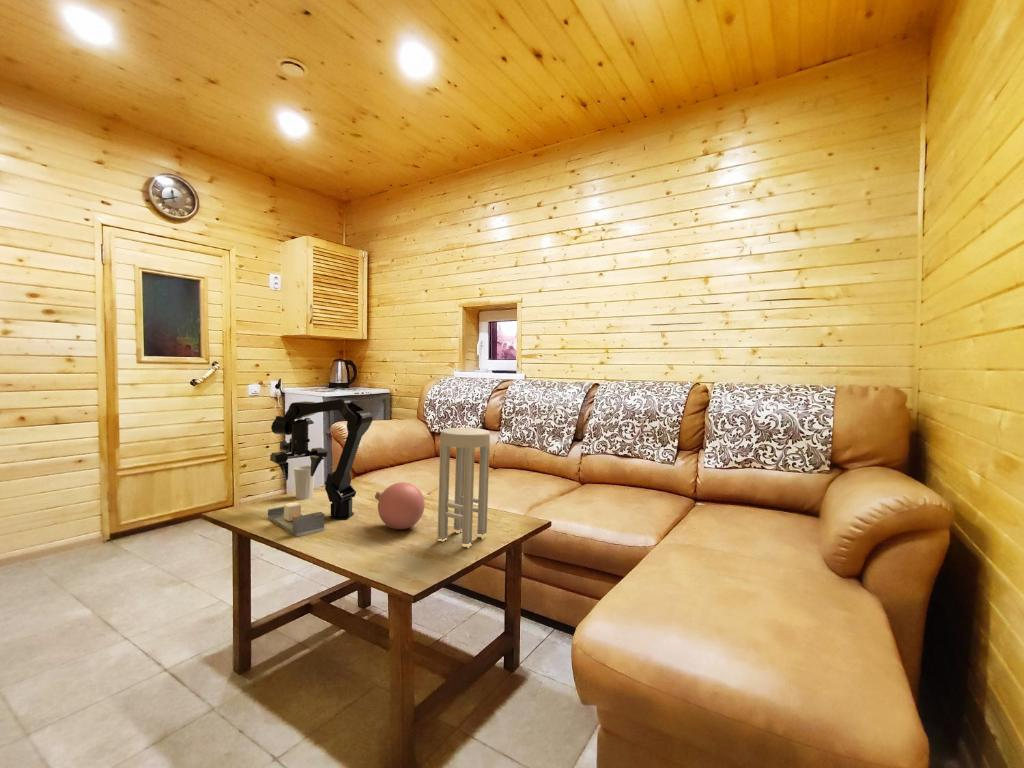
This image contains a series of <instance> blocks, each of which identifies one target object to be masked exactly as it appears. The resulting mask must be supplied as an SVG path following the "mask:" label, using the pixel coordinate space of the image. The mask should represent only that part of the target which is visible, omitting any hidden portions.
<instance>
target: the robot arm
mask: <svg viewBox="0 0 1024 768" xmlns="http://www.w3.org/2000/svg"><path fill="white" fill-rule="evenodd" d="M331 411H339V413H340V414H341V417H342V418H343V419H344V420H345V421H346V431H347V436H346V439H345V441H344V445H343V448H342V451H341V454H340V457H339V460H338V463H337V466H336V469H335V470H334V471H333V472H329V473H328V474H327V476H326V481H325V482H324V485H325V486H324V490H325V492H326V494H327V498H328V501H329V503H330V502H331V503H330V516H329V519H336V520H349V518H351V517H352V516H353V515H354V514H355V512H354V511H353V498H355V497H356V494H357V490H355V487H354V486H353V485H351V482H352V477H351V470H352V467H353V464H354V461H355V458H356V455H357V453H358V449H359V446H360V443H361V440H362V437H363V436H364V435H365V433H366V432H367V431H368V430H369V429H370V427H371V425H372V423H373V420H374V418H373V416H372V414H371V412H370V411H368V410H366V409H365V408H363V407H362V406H360V405H358V404H357V403H354V402H353V401H352V400H351V399H350V398H348V397H345V398H339V399H335V400H328V401H326V400H325V401H319V402H316V401H315V402H314V401H307V400H306V401H297V402H295V401H294V402H291V403H290V405H289V407H288V409H287V410H286V412H285V414H284V415H275V419H274V420H273V422H272V423H271V425H270V427H271V432H272V433H273V434H275V435H284V436H285V435H286V436H291V437H290V438H289V442H287V441H280V442H279V450H280V451H277V452H272V453H271V454H270V456H269V457H270V458H269V460H270V461H271V462H273V463H274V464H277V465H278V466H279V467H280V469H281V472H282V474H283V478H284V480H286V481H288V480H289V462H288V460H290V459H298V458H305V457H309V459H310V466H311V471H310V473H311V476H313V475H314V473H315V474H316V471H317V468H319V467H318V466H319V465H320V464H321V462H322V461H323V460H324V459H325V458H326V457H327V458H328V450H327V449H326V448H323V447H313V448H311V449H309V443H310V442H311V440H310V438H309V425H313V424H315V422H314V421H313V420H312V419H311V417H310V416H314V415H315V414H317V413H322V412H323V413H325V412H331Z"/></svg>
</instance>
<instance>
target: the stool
mask: <svg viewBox="0 0 1024 768" xmlns="http://www.w3.org/2000/svg"><path fill="white" fill-rule="evenodd" d="M439 436H440V437H439V472H438V473H439V476H438V511H437V513H438V514H437V540H438V539H442V540H443V539H445V538H447V539H448V536H449V535H448V533H449V532H448V530H449V529H448V528H449V526H448V525H449V518H450V519H453V530H454V529H455V530H461V529H462V532H461V544H462V543H463V544H469V543H471V542H472V543H473V515H474V513H477V528H476V530H477V534H482V535H483V534H485V533H487V534H488V532H487V531H488V529H487V528H488V506H489V505H488V504H489V502H488V501H489V477H490V476H489V471H490V444H491V443H490V440H491V439H490V438H491V437H490V436H491V432H490V430H486V429H483V428H476V427H475V428H474V427H450V428H443V429H442V430H441V432H440V435H439ZM451 447H452V448H455V475H454V477H455V479H454V481H455V482H454V503H452V502H449V495H450V467H451V466H450V463H451V462H450V459H451V456H450V455H451ZM476 448H479V463H478V464H479V465H478V466H479V467H478V468H479V471H478V496H477V497H478V498H476V497H474V482H475V481H474V480H475V455H476V454H475V451H476ZM474 503H475V504H478V505H477V507H475V506H474ZM449 508H450V509H454V510H453V511H454V512H451V511H450V512H449ZM473 512H474V513H473ZM477 534H476V535H477Z"/></svg>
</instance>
